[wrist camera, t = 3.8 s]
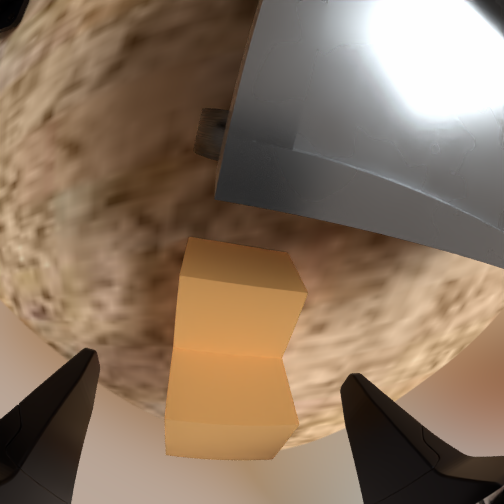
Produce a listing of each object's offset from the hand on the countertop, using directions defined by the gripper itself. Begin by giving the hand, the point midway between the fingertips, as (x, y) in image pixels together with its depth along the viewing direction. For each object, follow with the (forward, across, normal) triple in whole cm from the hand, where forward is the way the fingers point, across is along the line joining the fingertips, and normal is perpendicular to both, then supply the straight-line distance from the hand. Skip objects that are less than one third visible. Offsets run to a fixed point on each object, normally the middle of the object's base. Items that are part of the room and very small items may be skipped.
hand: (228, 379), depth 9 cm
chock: (+4, 0, 0) cm, 4 cm away
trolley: (+4, -5, -11) cm, 13 cm away
